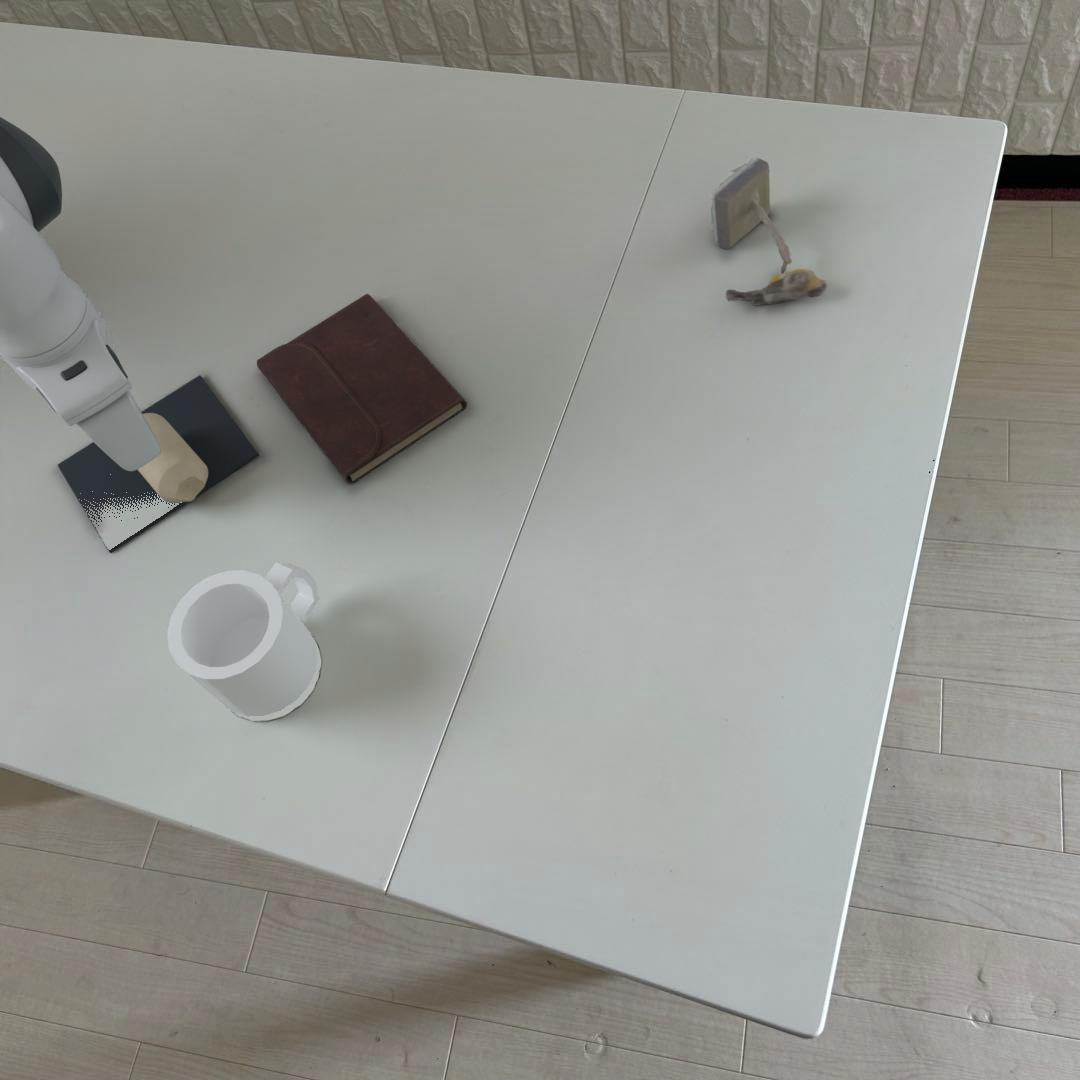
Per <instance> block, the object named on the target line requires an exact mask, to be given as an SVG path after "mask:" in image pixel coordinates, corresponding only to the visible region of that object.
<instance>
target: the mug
mask: <svg viewBox="0 0 1080 1080" xmlns="http://www.w3.org/2000/svg"><path fill="white" fill-rule="evenodd" d="M292 579H293V580H294V582H295V585H296V589H297V590H296V591H297V594H296V595H295V597H294V598H293V599H292V601H291V602H290V605H289V604H288V603H287V601H286V600H285V599H284V597H283V596H282V593H283V592H284V590H285V589H286V587H287V586H288V585H289V583H290V582H291V581H292ZM319 600H320V596H319V591H318V585H317V581H316V580H315V579H314V578H313V577H312V575H311V574H310V573H309V572H308V570H306V569H304V568H301V567H299V566H297V565H294V564H292V563H288V562H279V561H275V562H274V564H273V565H272V566H271V568H270V570H269V571H268V572H267V573H266V575H265V577H263V576H262V575H260V574H258V573H254V572H251V571H248V570H244V569H241V570H225V571H222V572H219V573H215V574H213V575H209V576H207V577H205V578H204V579H202V580H201V581H199V582H198V583H196V584H195V585H193V586H192V587H191V588H190V589H189V590H188V591H187V592H186V593H185V594H184V595H183V596H182V597H181V598H180V600H179V601H178V602H177V604H176V606H175V607H174V610H173V612H172V613H171V615H170V616H169V617H170V618H169V623H168V628H167V632H166V637H167V646H168V652H169V653H170V655H171V656H172V659H173V660H174V663H175V664H176V665H177V666H178V667H179V668H180V669H181V670H182V671H184V672H185V673H186V674H187V675H188V676H189V677H190V678H192V679H193V680H194V681H195V682H196V683H197V684H198V685H199V686H201V687H202V688H203V689H204V690H205V691H207V692H208V693H209V694H210V695H211V696H212V697H214V699H216V700H217V701H218V702H219V703H220V702H221V703H220V704H221V705H223V706H224V707H225V706H226V707H227V708H228V709H227V708H226V707H225V708H226V709H227V710H229V712H231V711H232V712H234V713H238V714H241V715H244V716H247V717H249V716H265V715H268V714H271V713H274V712H277V711H281V710H282V709H284V708H285V707H286V706H288V705H290V704H291V703H293V702H294V701H296V700H297V699H298V698H299V697H300V695H301V694H302V693H303V692H304V691H305V690H306V689H307V687H308V686H309V684H310V682H311V680H312V678H313V676H314V674H315V672H316V666H317V660H318V652H317V647H316V642H317V641H316V642H315V640H316V639H315V637H314V636H313V634H312V633H311V631H310V630H309V629H308V628H307V626H306V625H305V624H304V623H305V622H306V620H307V619H308V618H309V616H310V614H311V613H312V612H313V610H314V609H315V607H316V605H317V604H318V602H319ZM309 631H310V632H309ZM311 634H312V635H311ZM312 636H313V637H314V638H313V637H312ZM314 639H315V640H314ZM232 712H231V713H232ZM234 713H233V714H234Z"/></svg>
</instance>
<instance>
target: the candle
mask: <svg viewBox="0 0 1080 1080" xmlns="http://www.w3.org/2000/svg"><path fill="white" fill-rule="evenodd" d="M143 416H144V418H145V419H146V421H147V423H148V424H149V426H150V428H151V430H152V431H153V433H154V435H155V437H156V438H157V440H158V442H159V444H160V447H161V453H160V455H159V456H157V457H156V458H155V459H153V460H152V461H150V462H149V463H148V464H146V465H144V466H143V467H141V468H139V469H137V470H138V471H139V472H140V473H141V474H142V476H143V477H144V478H145V479H146V480H147V482H148V483H149V484H150V485H151V486H152V488H153V489H154V490H155V491H156V492H157V494H158V495H159V496H160V497H161V498H162V499H163V500H164V501H166V502H169V503H180V502H187V501H190V502H193V501H194V500H195V499H196V498H197V497H196V495H197V494H198V493H199V492H200V491H201V490H202V489H203V488H204V486H205V484H206V481H207V478H208V468H207V466H206V465H205V464H204V462H203V461H202V460H201V459H200V458H199V457H198V456H197V454H196V453H195V452H194V451H193V450H192V449H191V448H190V447H189V445H188V444H187V443H186V442H185V441H184V440H183V439H182V437H181V436H180V435H179V434H178V433H177V432H176V431H175V430H174V428H173V427H172V426H171V425H170V424H169V423H168V422H167V421H166V420H165V419H164V418H163V417H162V416H160V415H158V414H155V413H145V414H143ZM195 497H196V498H195Z"/></svg>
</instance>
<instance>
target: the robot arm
mask: <svg viewBox="0 0 1080 1080" xmlns="http://www.w3.org/2000/svg"><path fill="white" fill-rule="evenodd" d="M62 185H63V184H62V178H61V173H60V169H59V166H58V164H57V162H56V160H55V159H54V157H53V156H52V155H51V153H50V152H49V151H48V150H47V149H46V148H45V147H44V146H43V145H42V144H41V143H40V142H39V141H37V140H36V139H35V138H33V137H32V136H31V135H29V134H28V133H27V132H26V131H24V130H22V129H21V128H19V127H18V126H17V125H15V124H13V123H11V122H10V121H8V120H6V119H5V118H3V117H1V116H0V357H1V358H2V359H3V360H4V361H5V363H6V364H7V365H8V366H9V367H10V368H11V370H13V371H14V372H15V373H16V375H17V376H18V377H19V378H20V379H21V380H22V382H24V383H25V384H26V385H28V386H29V387H30V388H31V389H33V390H34V391H35V392H36V393H38V395H40V396H42V397H43V398H44V399H45V401H46V402H47V403H48V405H49V406H50V408H51V409H52V410H53V412H55V414H56V415H57V416H58V417H59V418H60V419H61V420H62V421H63V422H64V423H65V424H66V425H67V426H69V427H72V426H74V425H76V426H77V427H78V428H79V429H80V430H81V431H82V432H83V433H84V434H85V435H86V437H88V439H90V440H91V441H92V443H93V442H94V443H95V444H96V445H97V446H98V447H99V448H101V449H102V450H103V451H104V452H105V453H106V454H107V455H108V456H109V457H110V458H111V459H113V460H114V461H115V462H116V463H117V464H118V465H119V466H120V467H122V468H123V469H125V470H127V471H135V470H137V469H139V468H141V467H143V466H144V465H146V464H148V463H149V462H150V461H152V460H153V459H155V458H156V457H157V456H159V455H160V453H161V447H160V444H159V442H158V440H157V438H156V437H155V435H154V433H153V431H152V430H151V428H150V426H149V424H148V423H147V421H146V419H145V418H144V416H143V414H142V410H141V409H140V407H139V405H138V403H137V402H136V400H135V399H134V396H133V395H132V393H131V391H130V390H132V388H133V384H132V383H131V381H130V379H129V376H128V375H127V373H126V371H125V370H124V368H123V366H122V363H121V361H120V359H119V357H118V354H117V350H116V346H115V344H114V341H113V334H112V330H111V328H110V326H109V324H108V323H107V322H106V320H105V319H104V317H103V316H102V315H101V314H100V312H99V310H98V309H97V308H96V307H95V305H94V304H93V303H92V301H91V299H90V298H89V297H88V296H87V295H86V294H85V292H84V291H83V290H82V288H81V287H80V286H79V284H77V282H75V281H74V280H73V279H72V278H70V277H68V275H66V274H65V273H64V272H63V269H62V266H61V264H60V261H59V259H58V257H57V255H56V253H55V252H54V250H53V249H52V248H51V247H50V245H49V244H48V242H47V241H46V240H45V239H44V237H43V236H42V235H41V234H40V232H41V231H43V230H44V228H46V227H47V226H48V225H50V223H52V222H53V221H54V220H55V219H56V218H58V217H59V216H60V215H61V213H62V206H63V187H62Z"/></svg>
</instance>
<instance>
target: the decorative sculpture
mask: <svg viewBox="0 0 1080 1080" xmlns="http://www.w3.org/2000/svg"><path fill="white" fill-rule="evenodd" d="M731 172H732V174H731V175H730V176H728V178H726V179H725V180H724V181H722V182H721V183H720V184H719V186H718V187H716V188H715V189H714V192H713V194H712V196H711V206H710V217H711V224H712V227H711V230H710V232H711V234H712V239H713V241H714V242H715V244H716V245H717V246H718V247H720V248H721V249H723V250H729V249H730V248H732V247H733V246H734V245H736V244H737V243H738V242H739V241H740V240H742V239H743V238H744V237H745V236H747V234H749V233H750V232H752V230H753V229H754V228H756V227H757V226H758V225H759V224H760V223H761V222H762V224H764V225H765V227H766V228H767V229H768V230H769V232H770V234H771V236H772V238H773V240H774V242H775V244H776V246H777V248H778V253H779V255H780V257H781V259H782V261H783V262H782V265H781V267H780V273H779V274H776V275H775V276H774V277H773V278H771V279H770V281H769V282H768V284H767V285H766V286H765V287H762V288H761V289H755V290H748V291H738V290H736V289H727V290H726V291H725V298H726V301H728V302H730V301H734V302H736V301H742V302H751V303H752V304H753V305H754V306H760V305H763V304H767V305H774V304H778V303H782V302H785V301H788V300H798V299H803V298H805V297H809V298H816V297H819V296H821V295H823V294H824V293H825V292H826V290H827V288H828V287H827V286H828V285H827V283H828V281H827V280H825V279H820V278H819V277H817V275H816V274H815V273H814V272H813V271H812V270H810V269H804V268H798V269H794V270H791V271H789V272H787V269H788V265H790V264H791V263H792V261H793V260H792V258H791V251H790V247H789V246H788V245H787V244H786V241H785V239H784V238H783V237H782V235H780V233H779V231H778V229H777V227H776V226H775V224H774V223H773V221H772V220H771V219H770V217H769V215H770V212H771V199H770V198H771V196H770V195H771V194H770V193H771V191H770V165H769V162H767V161H766V160H764V159H761V158H758V157H754V158H751V159H750V160H749V161H748V163H744V164H742V165H741V166H738V167H736V168H733V169H731Z"/></svg>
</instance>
